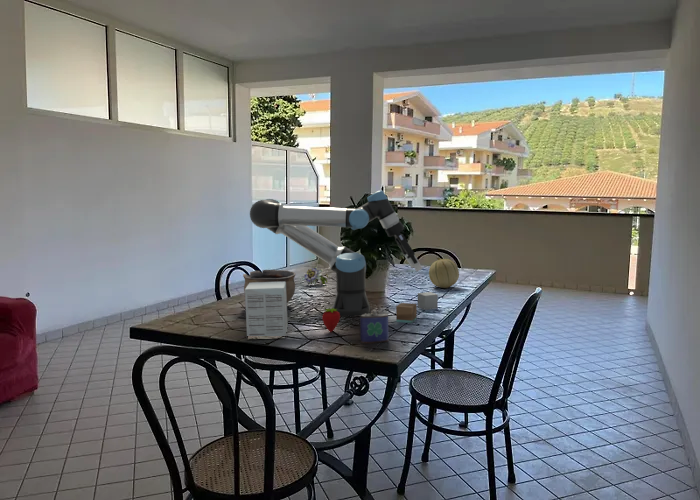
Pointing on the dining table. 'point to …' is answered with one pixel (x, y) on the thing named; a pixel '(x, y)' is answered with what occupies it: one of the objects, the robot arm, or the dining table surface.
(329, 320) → the strawberry
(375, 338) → the flask
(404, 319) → the brown and green cube
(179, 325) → the dining table surface
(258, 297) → the supplement box
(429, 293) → the grey block
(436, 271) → the cantaloupe
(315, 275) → the passion flower
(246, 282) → the ceramic bowl
